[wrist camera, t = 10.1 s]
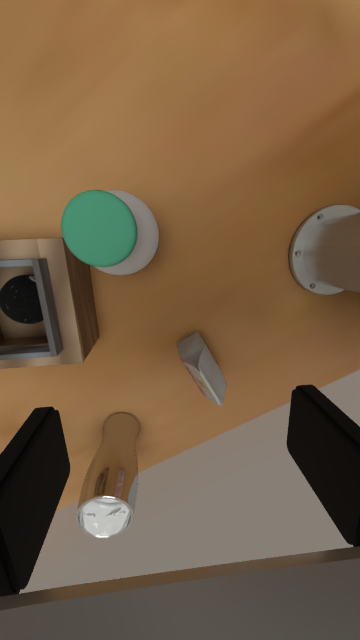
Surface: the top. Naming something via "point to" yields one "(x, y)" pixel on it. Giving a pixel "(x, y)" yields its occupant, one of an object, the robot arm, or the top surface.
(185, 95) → the top surface
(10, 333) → the housing
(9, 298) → the billiard ball
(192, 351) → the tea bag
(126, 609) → the robot arm
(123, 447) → the beer glass
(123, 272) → the milk bottle
